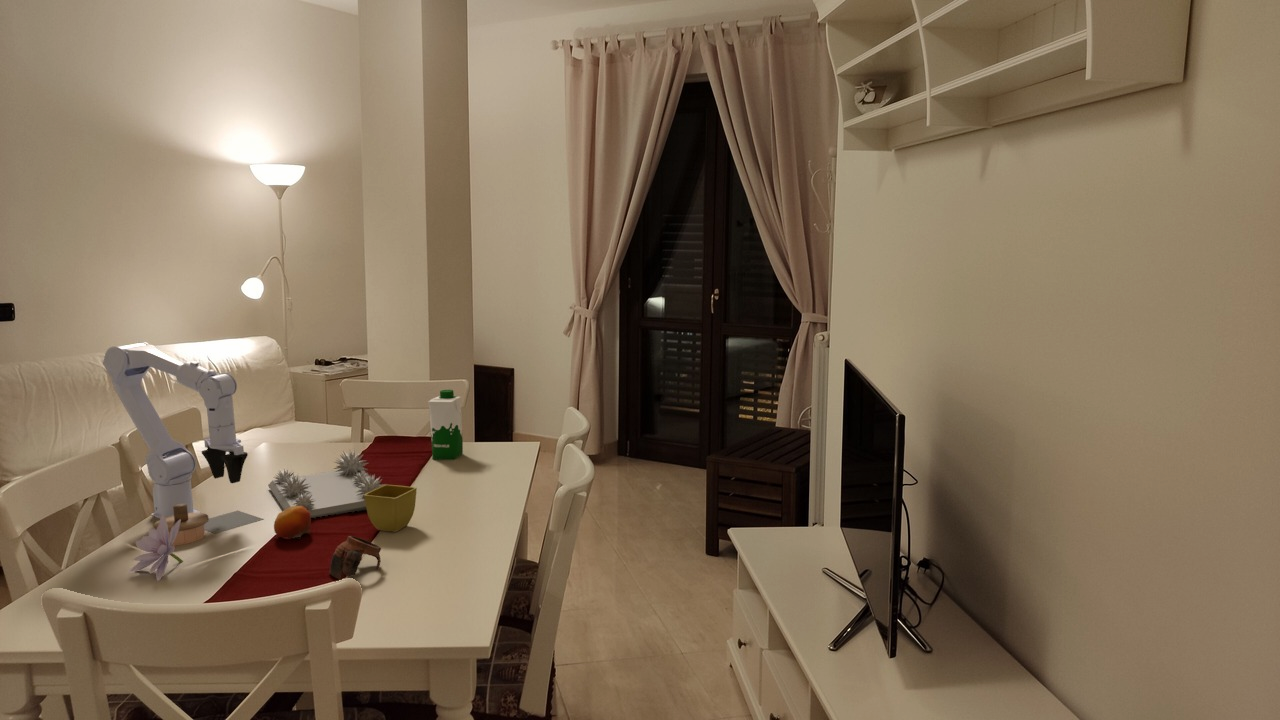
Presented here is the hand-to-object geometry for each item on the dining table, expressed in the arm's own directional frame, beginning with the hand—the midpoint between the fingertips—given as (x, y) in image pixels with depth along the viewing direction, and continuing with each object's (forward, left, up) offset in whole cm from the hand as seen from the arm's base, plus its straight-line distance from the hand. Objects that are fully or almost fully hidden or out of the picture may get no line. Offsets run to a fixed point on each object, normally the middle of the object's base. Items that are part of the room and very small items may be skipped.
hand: (226, 479), depth 213 cm
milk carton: (-1, +69, -10) cm, 70 cm away
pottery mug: (+55, -4, -10) cm, 56 cm away
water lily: (+19, -26, -10) cm, 34 cm away
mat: (+2, -2, -10) cm, 10 cm away
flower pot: (+39, +18, -10) cm, 44 cm away
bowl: (+4, -14, -10) cm, 18 cm away
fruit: (+24, +2, -10) cm, 26 cm away
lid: (+4, -13, -6) cm, 15 cm away
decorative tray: (+5, +24, -11) cm, 27 cm away
